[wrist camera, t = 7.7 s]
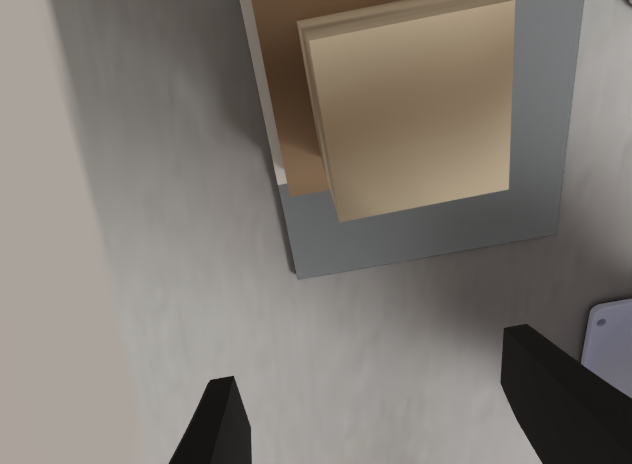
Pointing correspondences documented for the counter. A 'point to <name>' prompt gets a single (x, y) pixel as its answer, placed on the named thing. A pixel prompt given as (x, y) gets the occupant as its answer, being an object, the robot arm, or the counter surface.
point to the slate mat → (467, 213)
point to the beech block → (411, 101)
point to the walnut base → (295, 84)
